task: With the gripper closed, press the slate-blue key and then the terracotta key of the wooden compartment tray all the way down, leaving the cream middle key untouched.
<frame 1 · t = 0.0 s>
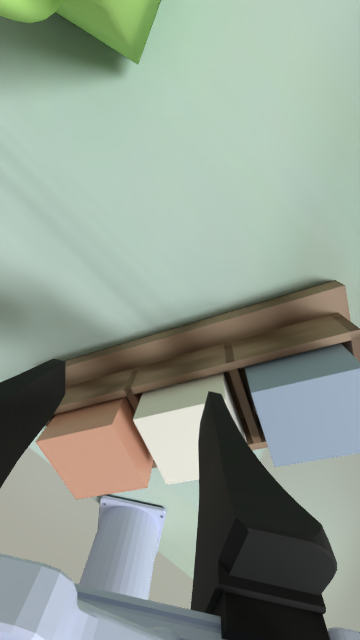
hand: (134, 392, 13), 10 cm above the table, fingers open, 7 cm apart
cream key: (194, 428, 20), point 5 cm above the table, slide at 0.0 cm
terracotta key: (100, 447, 21), point 5 cm above the table, slide at 0.0 cm
slate blue key: (306, 405, 18), point 5 cm above the table, slide at 0.0 cm
wooden compartment tray: (197, 384, 25), on the table
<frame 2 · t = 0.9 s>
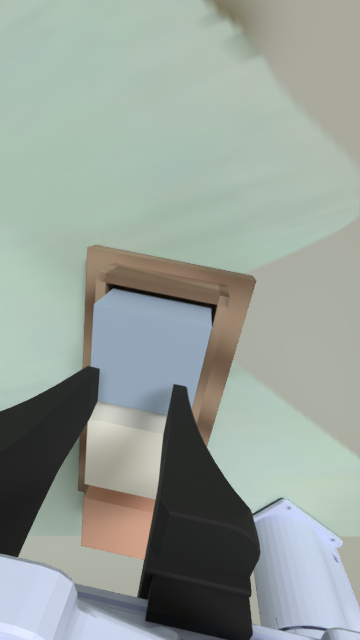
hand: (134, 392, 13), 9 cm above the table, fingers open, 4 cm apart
cream key: (136, 444, 20), point 5 cm above the table, slide at 0.0 cm
terracotta key: (126, 511, 23), point 5 cm above the table, slide at 0.0 cm
slate blue key: (150, 352, 17), point 5 cm above the table, slide at 0.0 cm
wooden compartment tray: (150, 397, 25), on the table
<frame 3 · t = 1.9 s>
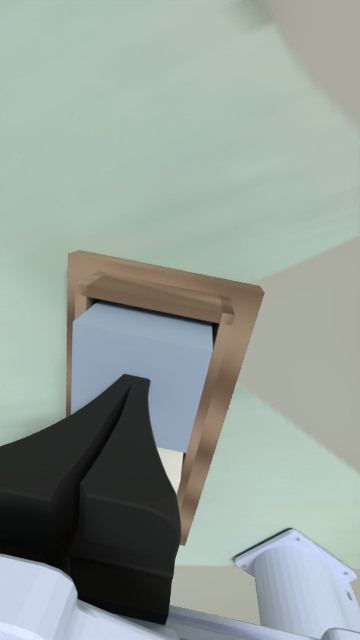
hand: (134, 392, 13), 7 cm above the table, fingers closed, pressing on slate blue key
cream key: (125, 480, 17), point 5 cm above the table, slide at 0.0 cm
slate blue key: (142, 375, 14), point 5 cm above the table, slide at 0.4 cm, touching gripper
wooden compartment tray: (144, 420, 22), on the table
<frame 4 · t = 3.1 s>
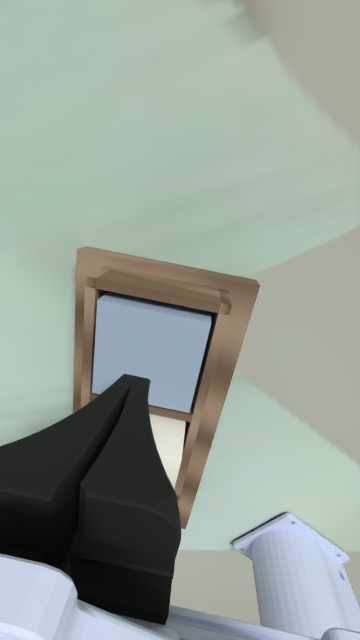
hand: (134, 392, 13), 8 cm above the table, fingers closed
cream key: (130, 461, 18), point 5 cm above the table, slide at 0.0 cm
slate blue key: (151, 348, 17), point 3 cm above the table, slide at 2.1 cm
wooden compartment tray: (147, 408, 23), on the table
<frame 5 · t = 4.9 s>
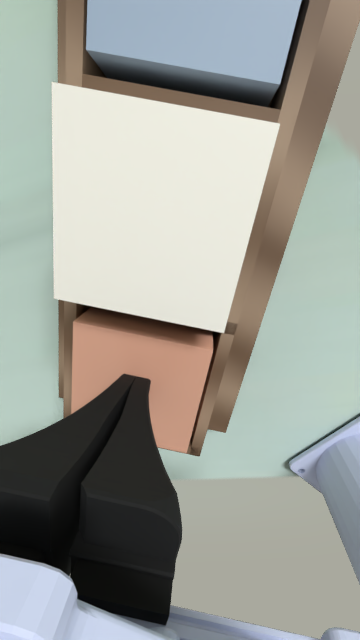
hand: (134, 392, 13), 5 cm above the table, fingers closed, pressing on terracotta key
cream key: (158, 222, 10), point 5 cm above the table, slide at 0.0 cm
terracotta key: (142, 374, 14), point 4 cm above the table, slide at 1.6 cm, touching gripper
wooden compartment tray: (174, 219, 15), on the table
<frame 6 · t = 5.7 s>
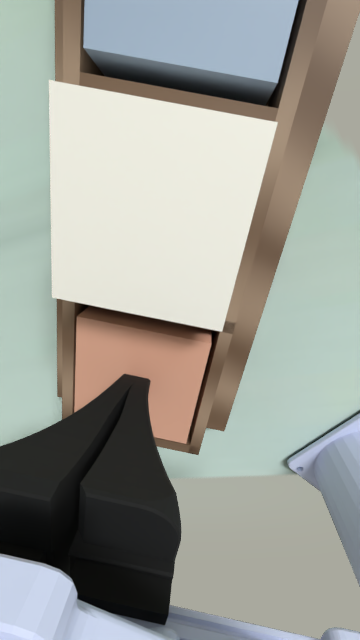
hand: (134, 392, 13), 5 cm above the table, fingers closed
cream key: (156, 221, 10), point 5 cm above the table, slide at 0.0 cm
terracotta key: (143, 368, 15), point 3 cm above the table, slide at 2.1 cm
wooden compartment tray: (173, 218, 15), on the table
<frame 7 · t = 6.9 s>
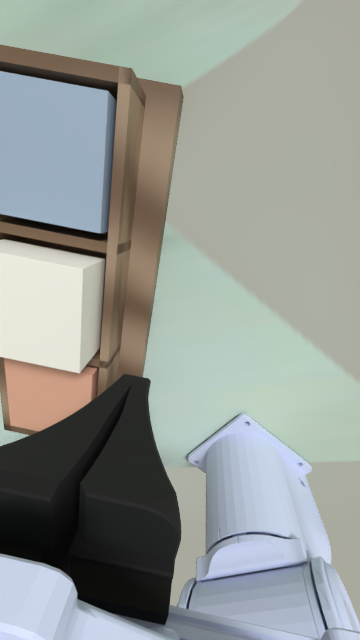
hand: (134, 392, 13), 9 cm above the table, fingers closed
cream key: (41, 304, 16), point 5 cm above the table, slide at 0.0 cm
terracotta key: (59, 388, 21), point 3 cm above the table, slide at 2.1 cm
slate blue key: (59, 162, 15), point 3 cm above the table, slide at 2.1 cm
wooden compartment tray: (80, 283, 21), on the table
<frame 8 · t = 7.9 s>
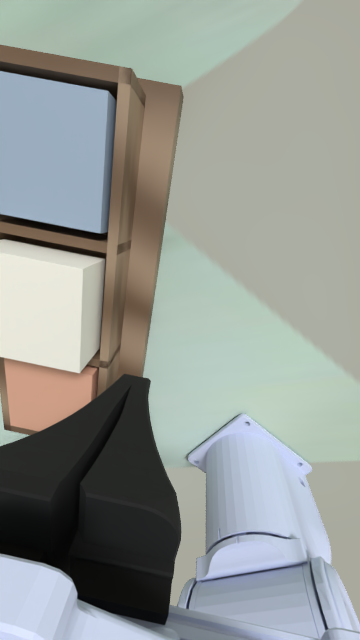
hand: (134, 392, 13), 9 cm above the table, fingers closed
cream key: (41, 304, 16), point 5 cm above the table, slide at 0.0 cm
terracotta key: (59, 388, 21), point 3 cm above the table, slide at 2.1 cm
slate blue key: (59, 162, 15), point 3 cm above the table, slide at 2.1 cm
wooden compartment tray: (80, 283, 21), on the table
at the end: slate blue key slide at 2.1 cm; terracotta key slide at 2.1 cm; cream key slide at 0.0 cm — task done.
